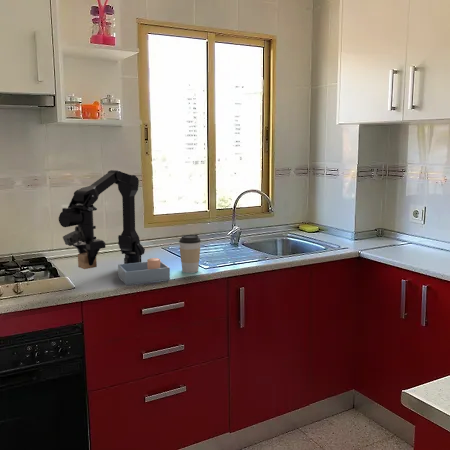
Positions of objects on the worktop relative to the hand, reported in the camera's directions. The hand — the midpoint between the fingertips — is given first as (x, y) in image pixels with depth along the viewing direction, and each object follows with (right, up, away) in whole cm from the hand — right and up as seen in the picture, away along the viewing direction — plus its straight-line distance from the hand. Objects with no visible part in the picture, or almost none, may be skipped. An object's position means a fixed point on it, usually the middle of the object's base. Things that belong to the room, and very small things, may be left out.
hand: (87, 264), depth 192 cm
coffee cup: (+38, -4, +19) cm, 43 cm away
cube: (0, -1, 0) cm, 1 cm away
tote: (+20, -6, +7) cm, 22 cm away
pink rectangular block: (+24, -6, +7) cm, 26 cm away
